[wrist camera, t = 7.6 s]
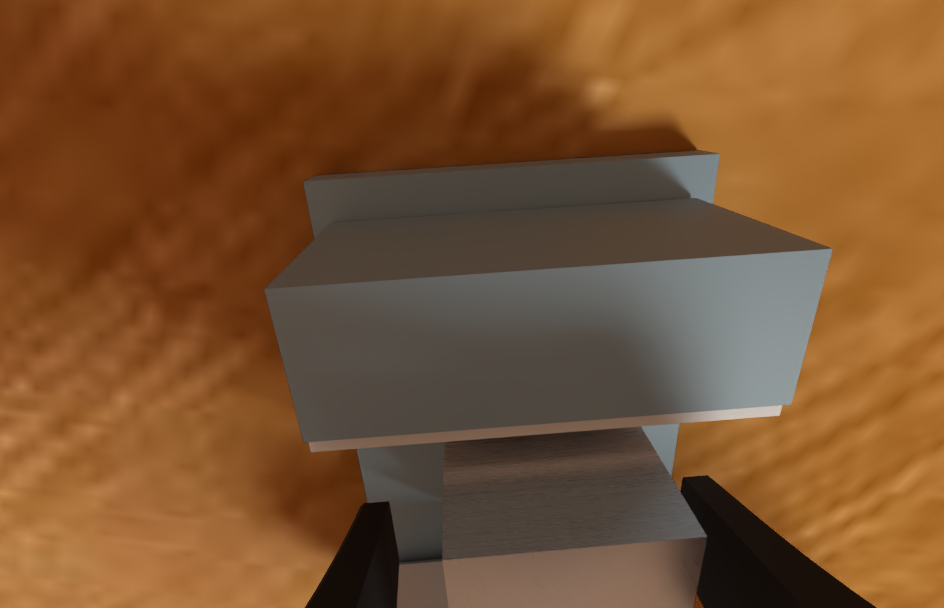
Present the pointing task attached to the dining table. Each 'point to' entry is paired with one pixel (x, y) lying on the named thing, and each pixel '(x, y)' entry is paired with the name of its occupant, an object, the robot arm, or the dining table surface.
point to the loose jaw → (422, 585)
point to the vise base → (532, 313)
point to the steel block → (566, 524)
